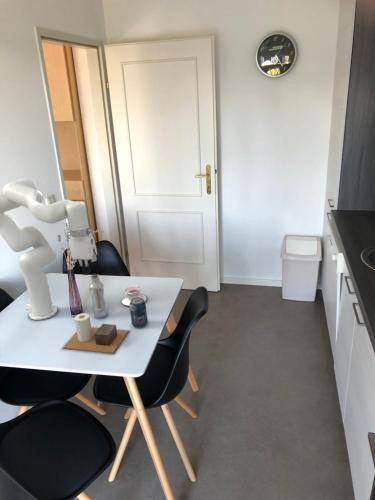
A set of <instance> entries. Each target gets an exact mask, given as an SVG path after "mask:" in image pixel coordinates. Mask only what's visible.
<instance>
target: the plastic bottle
mask: <svg viewBox="0 0 375 500" xmlns="http://www.w3.org/2000/svg"><path fill="white" fill-rule="evenodd" d="M88 290H89V293H90V296H91V301H92V314H93V316H94V317H96V318H100V319H101V318H104V317H106V316H107V315H108V313H109V308H108V306H107V303H106V300H105V286H104V283H103V282H102V281H101V279H100V275H99V274H92V275H91V276H90V283H89V286H88Z"/></svg>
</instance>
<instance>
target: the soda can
mask: <svg viewBox="0 0 375 500" xmlns="http://www.w3.org/2000/svg"><path fill="white" fill-rule="evenodd" d="M146 304H147V303H146V301H144V299H143V298H140V297H138V298H133V299H132V300H131V301H130V306H129V313H130V319H131V320H130V321H131V325H132V326H133V327H134V328H135V329H142V328H145V327H146V326H147V324H148V321H149V320H148V313H147V312H148V311H147V305H146Z"/></svg>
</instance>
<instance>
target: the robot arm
mask: <svg viewBox="0 0 375 500" xmlns="http://www.w3.org/2000/svg"><path fill="white" fill-rule="evenodd" d="M43 199H44V196H43V193H42V192H41V191H40V190H38V187H37V184H36V183H35V182H34V181H33V180H32V179H29V178H21V179H17V180H13V181H10V182H8V183H6V184H5V185H4V186H3V188H2V192H0V236H1V237H2V238H3V240H4V241H5V243H6V244H7V246H8V247H9V248H10V249H11V250H12V251H13V252H14V253H21V252H24V251H26V252H24V253H22V254H21V255H20V257H19V259H18V267H19V269H20V271H21V273H22V276H23V279H24V282H25V286H26V291H27V295H28V300H29V303H25V307H24V310H25V311H29V312H28V316H29V319H31V320H34V321H42V320H46V319H49V318H51V317H53V316H55V315H56V314H57V313H58V308H57V306H56V305H53V300H52V296H51V292H50V291H51V290H50V285H49V281H48V277H47V275H46V274H45V273H44V272H43V271H42V269H44V268H45V267H46V266H49V265H51V264H53V263H54V262H55V260H56V257H57V255H56V251H55V249H54V247H53V246H52V245H51V243H50V242H49V240H48V239H47V238H46V236H45V235H44V233H43V232H42V230H40V228H38V227H37V226H35V225H27V226H25V227H21V226H20V225H19V224H18V222H17V221H16V219H14V218H13V217H11V216H10V215H7V214H6V212H9V211H12V210H15V209H18V208H20V207H24V208H26V209H28V210H29V212H30V214H31V215H32V216H33V217H34V218H35V219H36V220H38V221H41V222H43V223H46V224H50V225H51V224H52V225H53V224H56V223H59V222H62V221H64V220H67V222H68V227H69V232H70V235H69V252H70V257H71V258H72V259H71V260H72V261H74V262H77V263H78V264H79V266H80V267H81V271H82V274H83V275H84V276H88V275H89V274H90V273H91V263H93V262H96V261H98V259H97V256H98V249H97V245H96V242H95V239H94V236H93V230H92V229H90V225H89V220H88V212H87V206H86V204H85V202H84V201H77V200H76V201H74V200H71V199H67V198H66V199H61V200H59V201H55V202H53V203H50V204H45V203H43ZM30 248H32V249H30ZM29 249H30V250H29Z"/></svg>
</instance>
